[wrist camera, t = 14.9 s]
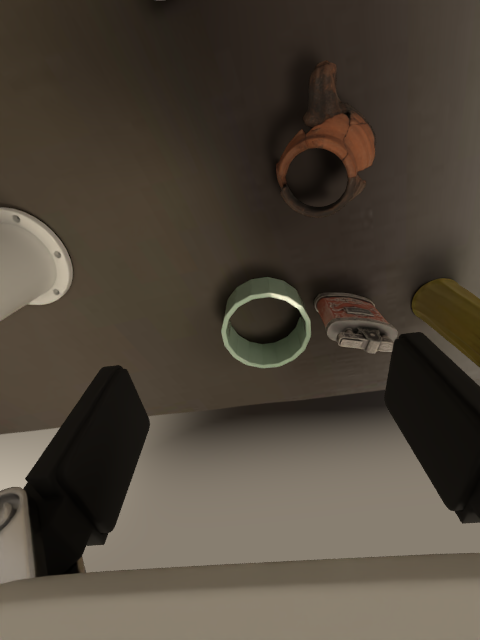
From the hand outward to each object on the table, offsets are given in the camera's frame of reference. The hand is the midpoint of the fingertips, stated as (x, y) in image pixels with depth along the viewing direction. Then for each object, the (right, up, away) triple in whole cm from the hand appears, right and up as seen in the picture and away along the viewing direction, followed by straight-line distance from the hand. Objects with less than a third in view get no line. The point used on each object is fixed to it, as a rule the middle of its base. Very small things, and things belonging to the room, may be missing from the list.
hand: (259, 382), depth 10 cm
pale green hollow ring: (+3, +3, +29) cm, 29 cm away
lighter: (+13, +4, +28) cm, 31 cm away
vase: (+26, +5, +27) cm, 38 cm away
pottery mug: (+8, +20, +19) cm, 29 cm away
